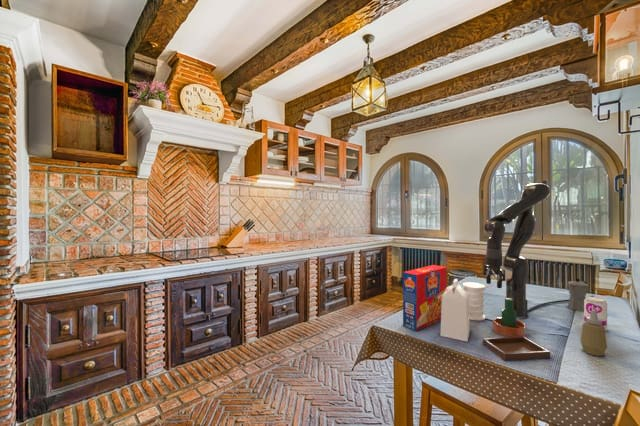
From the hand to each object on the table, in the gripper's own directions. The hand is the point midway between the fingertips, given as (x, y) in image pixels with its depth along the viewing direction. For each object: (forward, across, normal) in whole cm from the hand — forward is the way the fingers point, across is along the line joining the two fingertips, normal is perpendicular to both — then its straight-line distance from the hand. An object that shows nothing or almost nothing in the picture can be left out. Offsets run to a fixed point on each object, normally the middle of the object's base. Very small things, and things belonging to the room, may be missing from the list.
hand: (493, 285), depth 158 cm
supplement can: (+17, -20, -39) cm, 47 cm away
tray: (+17, -36, +17) cm, 43 cm away
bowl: (+17, -20, +7) cm, 27 cm away
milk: (+17, -18, +33) cm, 41 cm away
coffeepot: (+17, +6, -58) cm, 61 cm away
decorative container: (+17, 0, +12) cm, 21 cm away
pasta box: (+17, -2, +40) cm, 44 cm away
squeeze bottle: (+17, -41, -14) cm, 47 cm away
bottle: (+17, -20, +7) cm, 27 cm away
